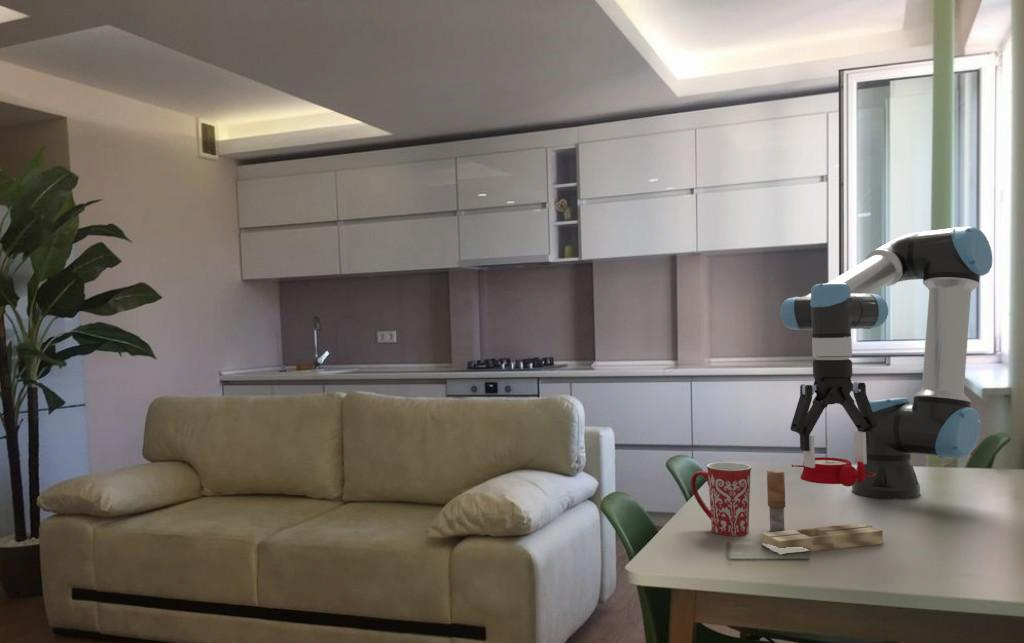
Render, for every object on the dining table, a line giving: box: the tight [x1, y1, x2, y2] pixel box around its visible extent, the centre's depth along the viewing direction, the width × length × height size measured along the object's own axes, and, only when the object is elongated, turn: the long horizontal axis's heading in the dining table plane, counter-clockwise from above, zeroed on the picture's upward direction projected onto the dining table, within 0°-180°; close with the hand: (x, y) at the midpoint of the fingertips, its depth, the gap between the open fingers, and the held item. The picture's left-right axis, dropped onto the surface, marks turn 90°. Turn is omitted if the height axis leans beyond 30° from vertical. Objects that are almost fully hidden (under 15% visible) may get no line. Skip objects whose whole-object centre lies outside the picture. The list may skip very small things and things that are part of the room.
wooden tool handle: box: [766, 469, 786, 532], centre depth 158 cm, size 3×3×12 cm
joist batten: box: [761, 522, 884, 553], centre depth 147 cm, size 22×6×3 cm, turn 104°
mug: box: [690, 461, 752, 537], centre depth 160 cm, size 13×9×14 cm
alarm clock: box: [791, 456, 876, 487], centre depth 158 cm, size 10×6×15 cm
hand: (835, 465), depth 158 cm, fingers closed on alarm clock, 11 cm apart
